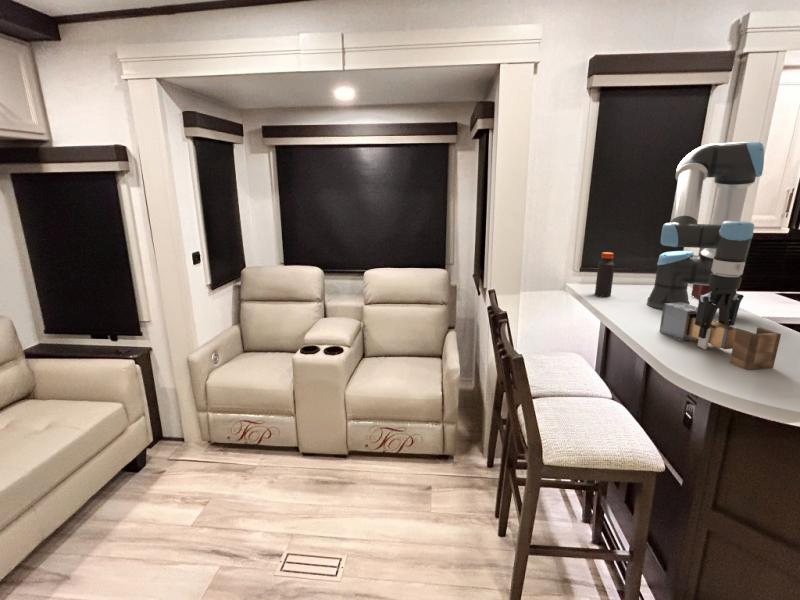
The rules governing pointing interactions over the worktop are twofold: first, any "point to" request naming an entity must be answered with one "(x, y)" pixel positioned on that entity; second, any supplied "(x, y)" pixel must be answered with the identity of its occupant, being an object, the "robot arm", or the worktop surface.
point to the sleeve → (677, 320)
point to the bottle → (605, 275)
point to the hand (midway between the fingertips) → (708, 346)
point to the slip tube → (714, 333)
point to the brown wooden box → (755, 349)
